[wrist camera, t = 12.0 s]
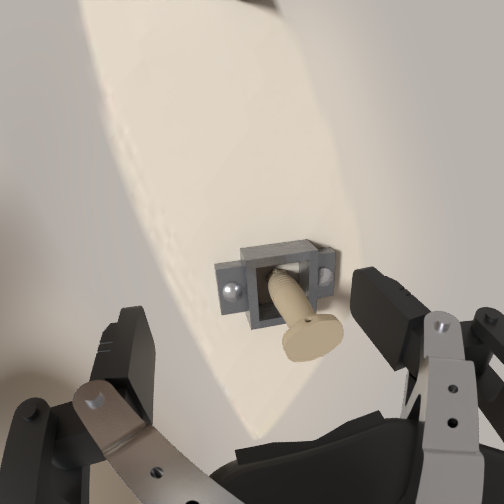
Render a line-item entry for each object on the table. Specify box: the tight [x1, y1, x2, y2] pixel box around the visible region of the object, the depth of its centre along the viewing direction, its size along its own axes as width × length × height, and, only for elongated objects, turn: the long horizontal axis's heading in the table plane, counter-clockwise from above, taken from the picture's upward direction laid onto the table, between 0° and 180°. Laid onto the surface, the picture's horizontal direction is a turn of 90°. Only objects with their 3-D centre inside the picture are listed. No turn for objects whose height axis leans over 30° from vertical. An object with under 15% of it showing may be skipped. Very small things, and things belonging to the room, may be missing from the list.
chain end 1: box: [214, 240, 310, 330], centre depth 42 cm, size 10×12×4 cm
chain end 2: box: [258, 239, 336, 328], centre depth 42 cm, size 10×12×4 cm
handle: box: [266, 268, 344, 362], centre depth 37 cm, size 5×6×15 cm
